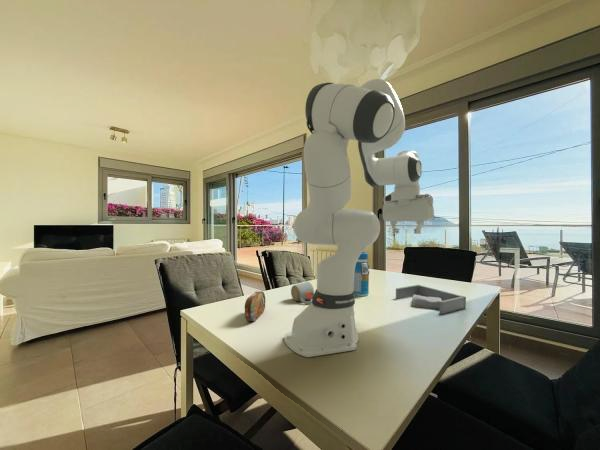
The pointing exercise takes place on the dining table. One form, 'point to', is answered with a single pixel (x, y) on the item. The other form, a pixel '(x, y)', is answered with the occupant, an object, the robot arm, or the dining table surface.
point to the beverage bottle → (361, 276)
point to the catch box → (448, 299)
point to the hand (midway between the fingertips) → (406, 233)
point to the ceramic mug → (302, 292)
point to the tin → (254, 306)
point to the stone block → (426, 302)
